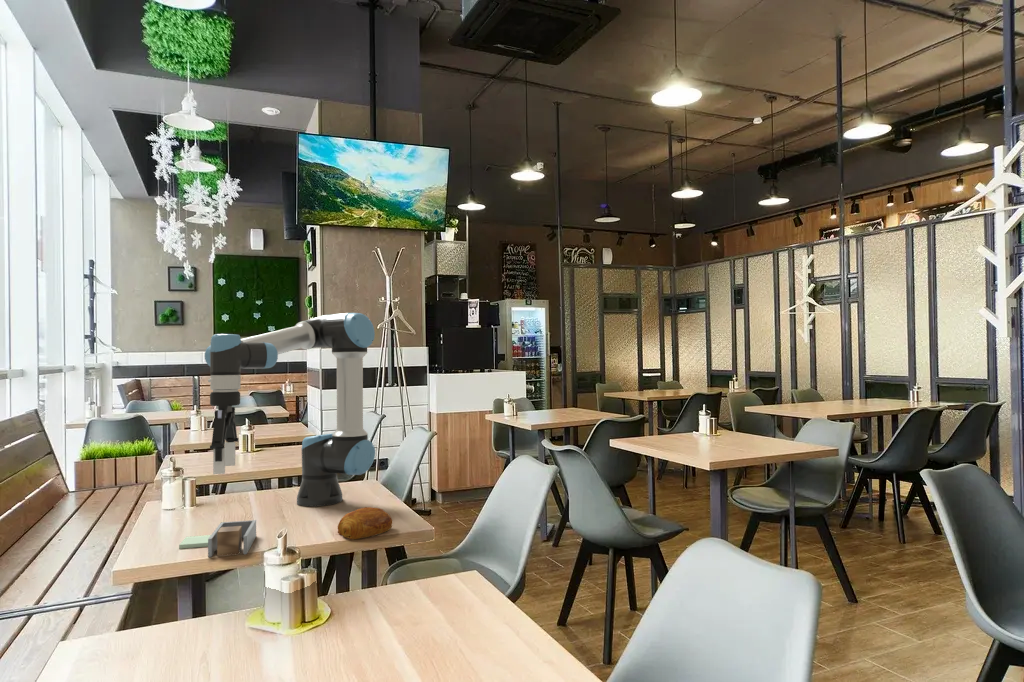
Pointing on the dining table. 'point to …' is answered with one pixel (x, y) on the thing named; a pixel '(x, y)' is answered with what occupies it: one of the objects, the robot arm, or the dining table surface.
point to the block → (229, 540)
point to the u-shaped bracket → (247, 534)
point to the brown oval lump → (364, 523)
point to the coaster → (194, 542)
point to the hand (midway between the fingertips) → (224, 469)
